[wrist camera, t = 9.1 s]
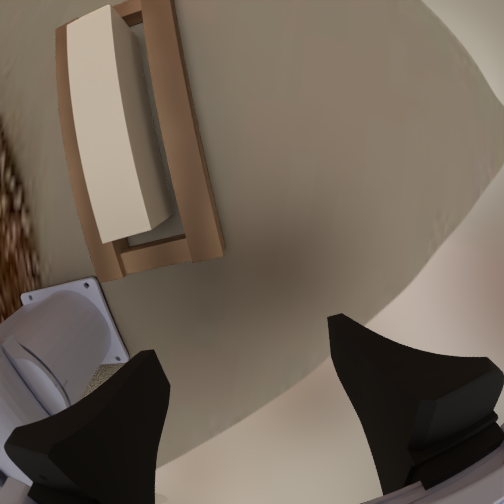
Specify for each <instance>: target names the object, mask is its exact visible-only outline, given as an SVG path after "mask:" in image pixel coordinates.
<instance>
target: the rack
mask: <svg viewBox="0 0 504 504" xmlns="http://www.w3.org/2000/svg"><path fill="white" fill-rule="evenodd" d="M113 8H114V9H115V10H116V12H117V13H118V14H119V15H120V16H121V18H122V19H123V20H124V21H125V22H126V24H127V25H128V26H129V27H130V26H133V25H135V24H138V23H141V22H143V25H144V33H145V40H146V47H147V54H148V61H149V67H150V73H151V79H152V85H153V91H154V97H155V102H156V108H157V113H158V118H159V123H160V128H161V133H162V138H163V143H164V148H165V152H166V157H167V162H168V166H169V171H170V175H171V179H172V184H173V188H174V192H175V196H176V201H177V205H178V209H179V213H180V217H181V221H182V225H183V229H184V232H185V234H181V235H177V236H173V237H169V238H164V239H160V240H156V241H152V242H148V243H144V244H140V245H136V246H132V247H129V246H128V242H127V239H126V237H124V238H121V239H117V240H114V241H110V242H107V243H102V240H101V237H100V233H99V230H98V227H97V223H96V220H95V216H94V212H93V209H92V205H91V201H90V197H89V193H88V189H87V185H86V181H85V176H84V172H83V167H82V162H81V157H80V152H79V147H78V141H77V136H76V130H75V123H74V116H73V109H72V101H71V93H70V83H69V71H68V55H67V25H68V24H70V23H72V22H73V21H75V20H77V19H79V18H76V19H74V20H72V21H70V22H68V23H66V24H64V25H63V26H61V27H59V28H57V29H56V79H57V94H58V105H59V114H60V123H61V130H62V137H63V144H64V150H65V156H66V162H67V167H68V172H69V177H70V182H71V186H72V191H73V195H74V200H75V204H76V208H77V212H78V216H79V219H80V223H81V227H82V230H83V234H84V237H85V241H86V244H87V247H88V250H89V254H90V257H91V260H92V263H93V266H94V269H95V272H96V275H97V278H98V280H99V283H103V282H107V281H112V280H117V279H121V278H124V277H125V276H126V275H127V274H131V273H136V272H140V271H145V270H149V269H154V268H159V267H163V266H168V265H172V264H177V263H182V262H186V261H191V260H192V262H193V263H195V262H200V261H205V260H209V259H214V258H219V257H223V256H224V251H225V243H224V239H223V235H222V231H221V226H220V222H219V218H218V214H217V209H216V205H215V201H214V196H213V192H212V187H211V183H210V179H209V174H208V170H207V165H206V161H205V156H204V151H203V147H202V142H201V138H200V133H199V128H198V123H197V119H196V114H195V109H194V104H193V99H192V95H191V90H190V85H189V80H188V75H187V70H186V64H185V59H184V54H183V49H182V44H181V38H180V33H179V27H178V22H177V16H176V11H175V5H174V0H129V1H126V2H123V3H121V4H118V5H116V6H113Z"/></svg>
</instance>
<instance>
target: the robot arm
mask: <svg viewBox="0 0 504 504" xmlns="http://www.w3.org/2000/svg"><path fill="white" fill-rule="evenodd" d="M86 283H88V284H89V287H88V286H87V285H86ZM31 296H32V297H31ZM21 300H22V302H23V305H24V306H22V307H21V308H20V309H18V310H17V311H16V312H15V313H13V314H12V315H11V316H10V317H8V318H7V319H6V320H5V321H4V322H2V323H1V324H0V504H155V471H156V460H157V452H158V446H159V442H160V438H161V434H162V430H163V426H164V422H165V418H166V414H167V410H168V405H169V397H170V383H169V381H168V379H167V377H166V375H165V373H164V371H163V369H162V366H161V364H160V362H159V360H158V357H157V355H156V353H155V351H154V349H153V350H145V351H141V352H139V353H138V354H136V355H135V356H134V357H133V358H132V359H131V360H129V355H128V353H127V351H126V349H125V347H124V344H123V342H122V340H121V338H120V336H119V333H118V331H117V329H116V326H115V324H114V322H113V319H112V317H111V314H110V312H109V309H108V307H107V304H106V302H105V299H104V297H103V294H102V291H101V289H100V286H99V283H98V281H97V279H96V278H94V277H89V278H85V279H80V280H76V281H72V282H67V283H63V284H59V285H55V286H50V287H46V288H42V289H38V290H33V291H29V292H25V293H23V294H22V295H21ZM327 319H328V329H329V339H330V350H331V358H332V360H333V364H334V367H335V370H336V372H337V375H338V377H339V379H340V381H341V383H342V385H343V387H344V389H345V391H346V393H347V395H348V397H349V399H350V401H351V403H352V405H353V407H354V409H355V411H356V413H357V415H358V417H359V419H360V421H361V424H362V426H363V429H364V432H365V435H366V438H367V441H368V444H369V446H370V449H371V452H372V456H373V459H374V463H375V465H376V469H377V473H378V477H379V480H380V484H381V488H382V492H383V496H382V497H379V498H376V499H373V500H370V501H367V502H364V503H361V504H504V423H503V424H502V425H501V427H499V425H498V424H497V423H496V421H497V419H498V415H497V414H496V413H495V412H494V410H493V409H494V407H495V405H496V403H497V401H498V398H499V396H500V394H501V391H502V388H503V385H504V374H503V372H502V371H501V370H500V369H499V368H498V367H497V366H496V365H495V364H494V363H493V362H492V361H491V360H490V359H489V358H487V357H457V356H448V355H440V354H435V353H430V352H426V351H421V350H418V349H414V348H411V347H408V346H405V345H402V344H399V343H397V342H394V341H392V340H390V339H388V338H385V337H383V336H381V335H379V334H377V333H375V332H373V331H371V330H369V329H368V328H366V327H364V326H362V325H361V324H359V323H357V322H356V321H354V320H352V319H351V318H349V317H347V316H346V315H344V314H342V313H341V314H337V315H333V316H330V317H327ZM117 356H118V357H120V359H119V358H118V357H117ZM128 360H129V361H128ZM127 361H128V362H127ZM125 362H127V363H126V364H125V365H124V366H123V367H122V368H120V369H119V370H118V371H117V372H116V373H115V374H114V375H113V376H111V377H110V378H109V379H108V380H107V381H105V382H104V383H103V384H102V385H101V386H99V387H98V388H97V389H96V390H94V391H93V392H92V393H90V394H89V395H88V396H86V397H85V398H83V399H82V400H80V399H81V397H82V395H83V393H84V392H85V390H86V388H87V386H88V385H89V383H90V381H91V380H92V378H93V376H94V375H95V373H96V371H97V370H98V368H99V366H100V365H101V364H115V363H125ZM79 400H80V401H79Z"/></svg>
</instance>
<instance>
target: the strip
mask: <svg viewBox="0 0 504 504" xmlns="http://www.w3.org/2000/svg"><path fill="white" fill-rule="evenodd" d="M67 55H68V71H69V83H70V93H71V101H72V109H73V116H74V123H75V130H76V136H77V141H78V147H79V152H80V157H81V162H82V167H83V172H84V176H85V181H86V185H87V189H88V193H89V197H90V201H91V205H92V209H93V212H94V216H95V220H96V223H97V227H98V230H99V233H100V237H101V240H102V243H107V242H110V241H114V240H117V239H121V238H124V237H128V236H131V235H135V234H138V233H142V232H146V231H149V230H152V229H153V228H155V227H156V226H158V225H159V224H160V223H162V222H163V221H164V220H166V219H167V218H169V217H170V216H171V215H173V214H174V213H175V212H174V208H173V204H172V200H171V196H170V192H169V188H168V184H167V180H166V176H165V172H164V168H163V164H162V160H161V155H160V151H159V146H158V142H157V137H156V133H155V128H154V123H153V119H152V114H151V109H150V104H149V99H148V93H147V88H146V83H145V77H144V71H143V65H142V59H141V53H140V47H139V40H138V37H137V36H136V35H135V33H134V32H133V31H132V30H131V29H130V27H129V26H128V25H127V24H126V22H125V21H124V20H123V19H122V18H121V16H120V15H119V14H118V13H117V12H116V10H115V9H114V8H113V7H112V6H111V4H109V5H106V6H104V7H102V8H100V9H98V10H95V11H93V12H91V13H89V14H87V15H85V16H83V17H81V18H79V19H77V20H75V21H73V22H72V23H70V24H68V25H67Z"/></svg>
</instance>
